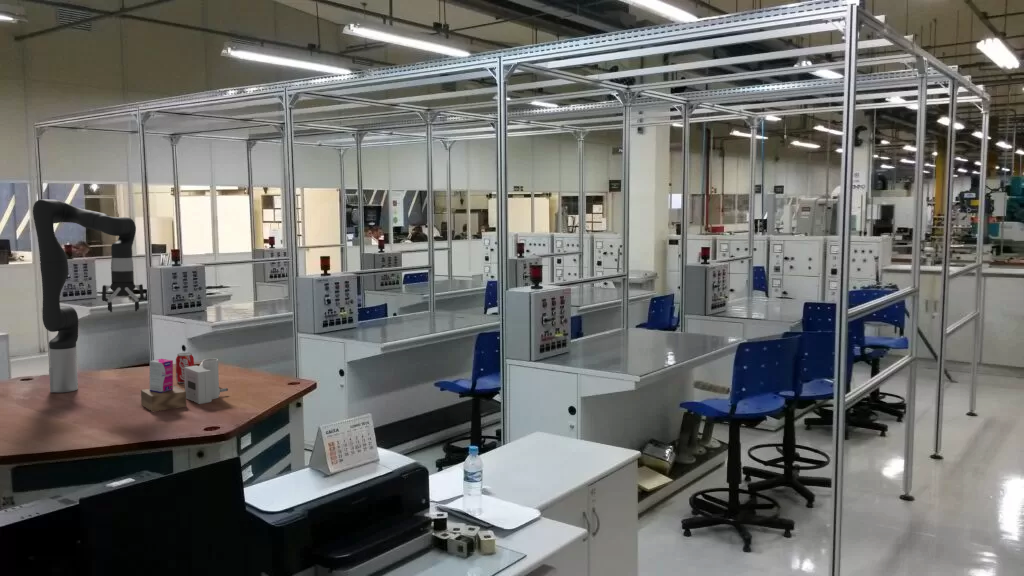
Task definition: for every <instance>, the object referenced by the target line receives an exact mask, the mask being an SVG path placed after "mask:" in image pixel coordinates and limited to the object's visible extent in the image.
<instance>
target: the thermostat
mask: <svg viewBox="0 0 1024 576" xmlns="http://www.w3.org/2000/svg"><path fill="white" fill-rule="evenodd" d="M202 361H203V366H202V367H200V365H194V366H189V367H184V373H185V383H184V391H186V400H189V401H191V402H193V401H194V403H196V404H199V405H201V404H207V403H211V402H212V400H216V399H218V398H219V397H220V395H221V393H223V392H228V391H229V388H227V387H225V388H220V386H219V385H220V383H219V381H220V380H219V377H220V376H219V375H220V373H219V359H218V358H213V357H212V358H205V359H202Z"/></svg>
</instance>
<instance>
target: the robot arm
mask: <svg viewBox="0 0 1024 576" xmlns="http://www.w3.org/2000/svg"><path fill="white" fill-rule="evenodd" d="M32 217H33V221H34V226H35V231H36V232H35V233H36V236H37V243H38V253H39V265H40V267H39V268H40V274H41V288H42V312H41V313H42V323H43V326H44V328H45V330H47V331H48V332H51V333H55V332H58V333H57V334H56V336H54V337H53V338H52V339H51V340H49V342H48V351H49V354H48V355H49V370H48V371H49V372H48V374H49V393H70V392H74V391H76V390H78V389H79V387H78V385H79V383H78V361H77V360H78V357H77V356H78V355H77V342H78V339H79V314H78V313H77V311H76V309H75V308H74V307H72V306H61V302H60V301H61V300H60V299H61V292H62V290H63V288H64V287H65V284H66V281H67V279H68V275H69V262H68V256H67V254H66V251H65V250H64V249H63V247H62V245H61V244H60V242H59V240H58V239H57V237H56V234H55V227H54V224H61V223H70V224H71V223H73V224H78V225H79V226H81V227H82V228H85V229H89V230H93V231H96V232H97V231H98V232H102V233H104V234H106V235H109V236H112V237H113V236H115V237H118V239H117V241H114V242H113V243H112V244H111V246H110V249H111V255H110V256H111V262H110V263H111V264H110V271H111V272H110V273H111V285H108V284H107V285H106V284H103V285H102V287H101V288H102V291H101V301H102V302H106V303H107V311H109V312H110V313H113V302H112V301H113V300H114V298H115V297H117V296H118V297H123V296H124V297H128V296H130V297H131V298H132V299H133V300H134V311H135V312H138V310H139V309H140V301H143V300H144V299H145V295H144V285H143V283H139V284H135V283H134V280H135V278H134V276H135V275H134V261H133V244H134V241H135V236H136V230H137V229H136V228H137V227H136V224H135V221H134V220H133V219H132V218H131V217H128V216H121V217H120V216H118V217H117V216H110V215H109V214H107V213H104V212H98V211H94V210H90V209H84V208H80V207H77V206H74V205H72V204H69V203H67V202H64V201H62V200H59V199H52V198H51V199H45V198H44V199H43V198H42V199H37V200H36V201H35V202H34V203H33V206H32ZM109 289H110V290H111V291H112V294H111V295H110V296H109V297H108V298H107V292H108V291H109ZM135 289H136V290H137V291H139V296H137V295H136V294H135V293H134V292H133V291H134V290H135Z"/></svg>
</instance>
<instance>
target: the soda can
mask: <svg viewBox="0 0 1024 576" xmlns="http://www.w3.org/2000/svg"><path fill="white" fill-rule="evenodd" d="M176 355H177V356H176V357H175V379H176V382H177V383H179V384H185V373H184V367H189V366H195V357H194V356H193V353H192V352H181V353H180V352H179V353H177V354H176Z"/></svg>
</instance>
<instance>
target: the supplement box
mask: <svg viewBox="0 0 1024 576" xmlns="http://www.w3.org/2000/svg"><path fill="white" fill-rule="evenodd" d="M173 369H174V360H172V359H166V358H165V359H164V358H158V359H154V360H150V361H149V389H150V392H157V393H163V392H166V391H170V390H173V386H174V382H173V381H174V374H173V373H174V370H173Z"/></svg>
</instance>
